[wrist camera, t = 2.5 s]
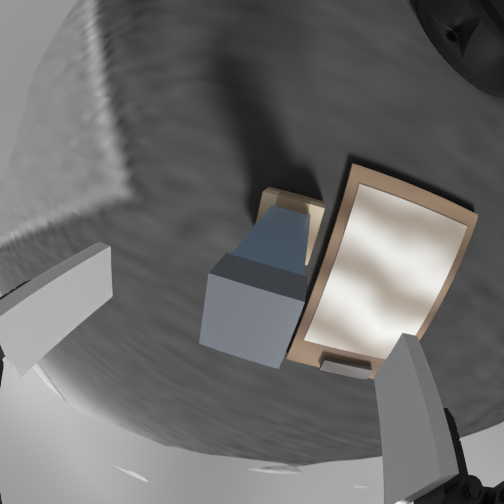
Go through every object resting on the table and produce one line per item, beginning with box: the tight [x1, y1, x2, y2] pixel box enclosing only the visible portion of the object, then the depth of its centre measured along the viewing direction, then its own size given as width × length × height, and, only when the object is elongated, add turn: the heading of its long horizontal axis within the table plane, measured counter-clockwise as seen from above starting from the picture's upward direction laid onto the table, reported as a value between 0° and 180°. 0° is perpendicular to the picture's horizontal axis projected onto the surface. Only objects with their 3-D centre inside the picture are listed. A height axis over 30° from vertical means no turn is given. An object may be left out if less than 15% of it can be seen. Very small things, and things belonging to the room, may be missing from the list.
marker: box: [199, 205, 311, 369], centre depth 17 cm, size 4×4×14 cm
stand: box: [256, 187, 325, 265], centre depth 23 cm, size 5×5×3 cm
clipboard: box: [286, 163, 478, 379], centre depth 24 cm, size 22×14×1 cm, turn 169°
